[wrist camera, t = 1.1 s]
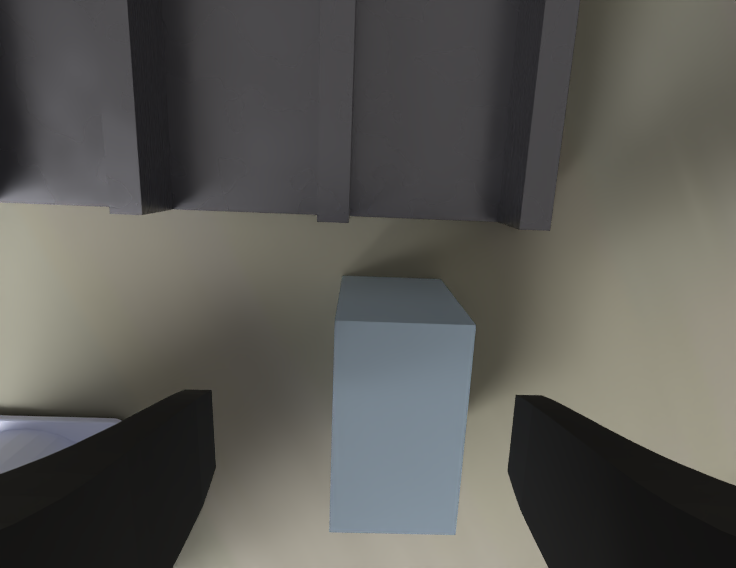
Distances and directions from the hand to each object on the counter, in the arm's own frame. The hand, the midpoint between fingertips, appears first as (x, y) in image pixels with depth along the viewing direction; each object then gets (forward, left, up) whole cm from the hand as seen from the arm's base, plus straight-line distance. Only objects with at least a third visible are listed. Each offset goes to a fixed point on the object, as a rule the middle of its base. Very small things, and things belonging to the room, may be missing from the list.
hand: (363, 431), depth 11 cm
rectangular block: (-2, -1, -9) cm, 9 cm away
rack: (+10, +4, -8) cm, 14 cm away
